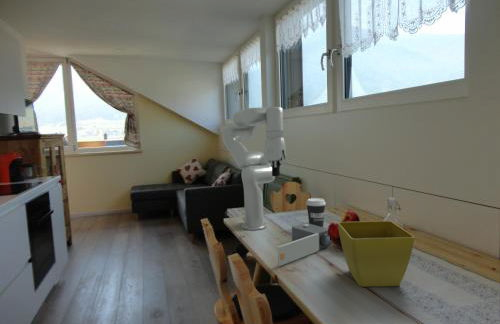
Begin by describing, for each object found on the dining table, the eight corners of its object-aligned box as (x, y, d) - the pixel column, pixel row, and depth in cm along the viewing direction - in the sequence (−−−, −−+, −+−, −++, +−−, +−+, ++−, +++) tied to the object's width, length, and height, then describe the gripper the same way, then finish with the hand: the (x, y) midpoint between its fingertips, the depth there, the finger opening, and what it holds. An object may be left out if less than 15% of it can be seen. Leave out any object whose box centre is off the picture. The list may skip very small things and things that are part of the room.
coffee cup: (304, 231, 163) (303, 201, 161) (308, 226, 172) (308, 197, 170) (324, 233, 159) (324, 202, 158) (327, 227, 168) (327, 198, 167)
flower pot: (337, 266, 121) (336, 221, 119) (390, 265, 120) (391, 220, 119) (351, 292, 102) (351, 238, 100) (415, 291, 101) (416, 237, 100)
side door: (317, 249, 137) (316, 233, 136) (320, 250, 136) (320, 234, 135) (278, 265, 123) (277, 246, 122) (281, 266, 122) (280, 247, 121)
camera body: (292, 242, 148) (291, 225, 148) (306, 237, 154) (306, 221, 153) (320, 251, 136) (319, 233, 135) (334, 246, 141) (334, 228, 141)
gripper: (257, 135, 153) (258, 175, 155) (280, 135, 141) (281, 178, 143) (270, 134, 157) (271, 173, 159) (292, 134, 146) (293, 176, 147)
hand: (275, 175), depth 151 cm, fingers closed
